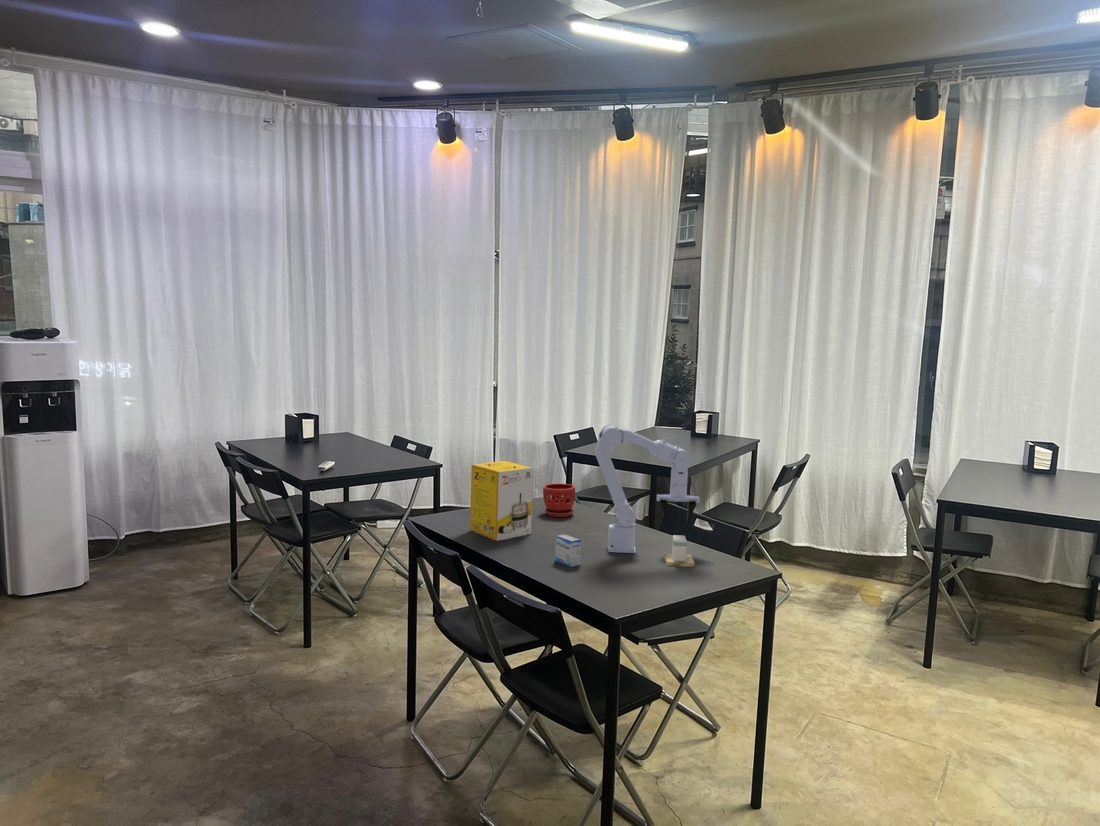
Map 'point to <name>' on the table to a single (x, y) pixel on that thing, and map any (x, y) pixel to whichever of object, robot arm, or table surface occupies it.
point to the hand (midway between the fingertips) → (676, 521)
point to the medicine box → (568, 550)
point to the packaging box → (501, 499)
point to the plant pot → (559, 499)
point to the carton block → (679, 548)
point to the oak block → (688, 562)
